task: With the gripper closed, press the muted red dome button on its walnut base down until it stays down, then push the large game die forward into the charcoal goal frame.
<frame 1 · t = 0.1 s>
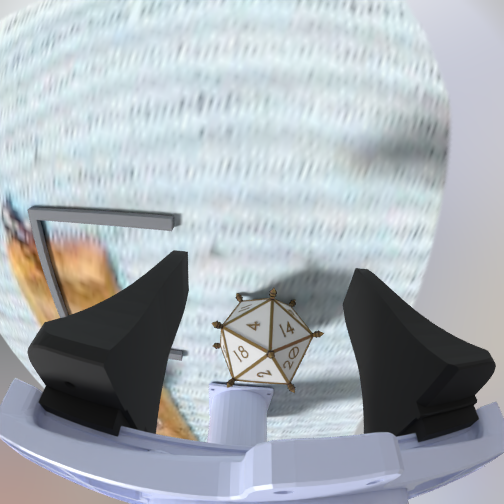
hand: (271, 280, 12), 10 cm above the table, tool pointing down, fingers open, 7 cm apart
goal frame: (110, 290, 26), on the table
game die: (263, 307, 27), on the table
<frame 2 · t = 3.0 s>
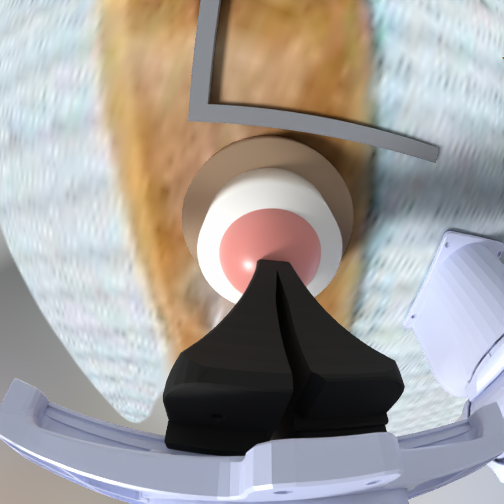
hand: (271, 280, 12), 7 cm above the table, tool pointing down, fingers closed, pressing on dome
dome base: (267, 216, 18), on the table
goal frame: (349, 3, 11), on the table
dome: (270, 250, 14), point 4 cm above the table, slide at 1.1 cm, touching gripper
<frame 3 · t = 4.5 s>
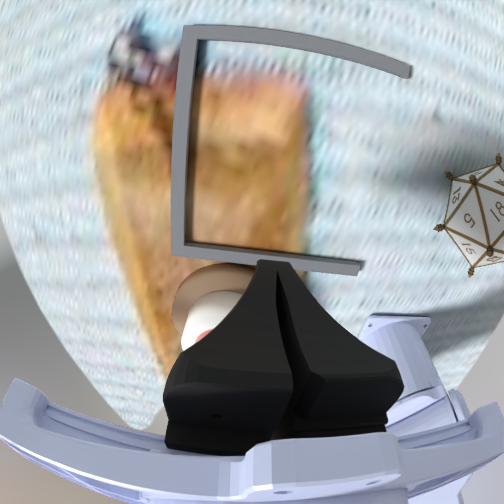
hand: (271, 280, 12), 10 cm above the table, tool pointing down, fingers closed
dome base: (230, 310, 26), on the table
goal frame: (291, 156, 19), on the table
game die: (459, 195, 20), on the table
dome: (226, 344, 22), point 4 cm above the table, slide at 1.1 cm
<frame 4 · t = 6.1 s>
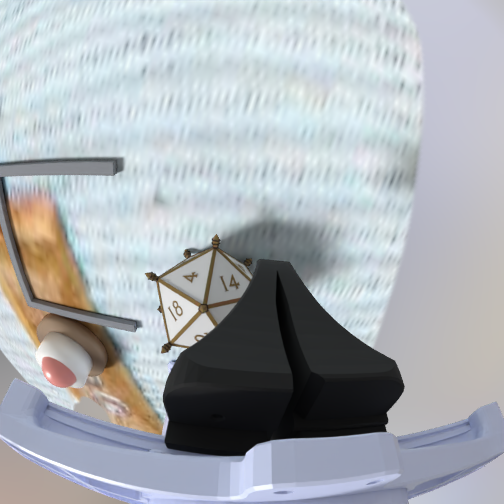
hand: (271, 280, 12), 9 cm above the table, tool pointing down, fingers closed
dome base: (73, 342, 30), on the table
goal frame: (61, 250, 23), on the table
game die: (217, 268, 24), on the table
dome: (60, 367, 26), point 4 cm above the table, slide at 1.1 cm
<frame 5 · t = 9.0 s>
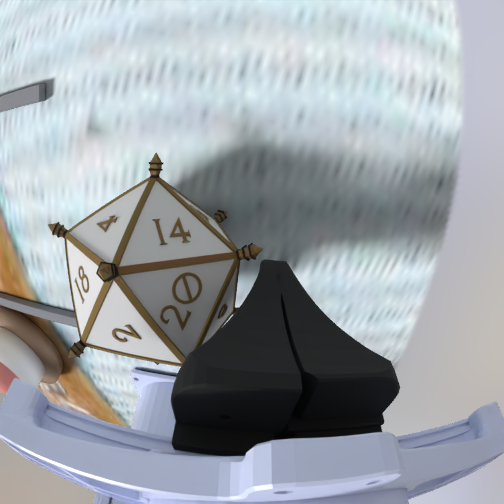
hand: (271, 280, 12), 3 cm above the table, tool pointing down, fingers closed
dome base: (25, 341, 22), on the table
game die: (176, 230, 15), on the table, touching gripper
dome: (7, 370, 18), point 4 cm above the table, slide at 1.1 cm
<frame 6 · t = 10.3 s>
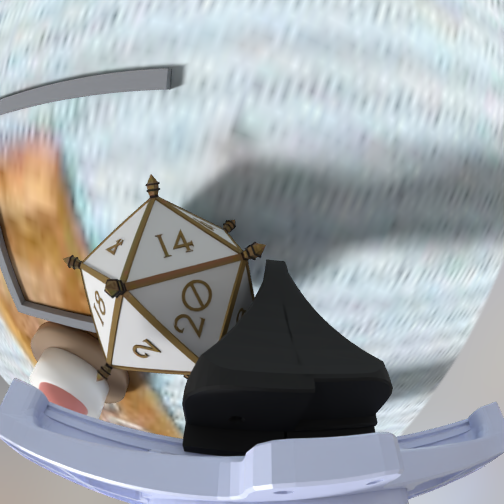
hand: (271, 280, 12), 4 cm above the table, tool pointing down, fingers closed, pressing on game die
dome base: (80, 360, 22), on the table
goal frame: (64, 224, 15), on the table
game die: (191, 248, 16), on the table, touching gripper
dome: (64, 395, 18), point 4 cm above the table, slide at 1.1 cm
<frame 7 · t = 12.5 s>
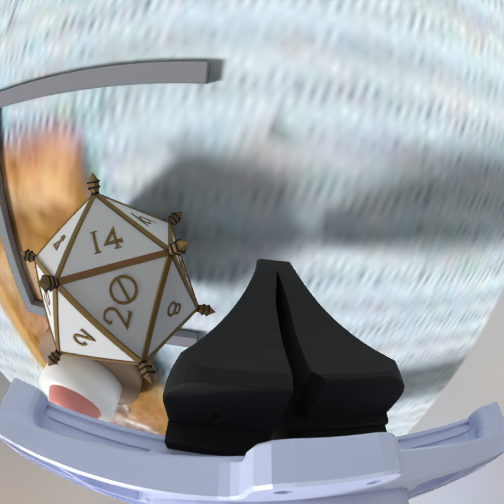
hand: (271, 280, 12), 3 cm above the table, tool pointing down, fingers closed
dome base: (92, 361, 22), on the table
goal frame: (82, 221, 15), on the table
game die: (142, 239, 15), on the table
dome: (76, 397, 18), point 4 cm above the table, slide at 1.1 cm
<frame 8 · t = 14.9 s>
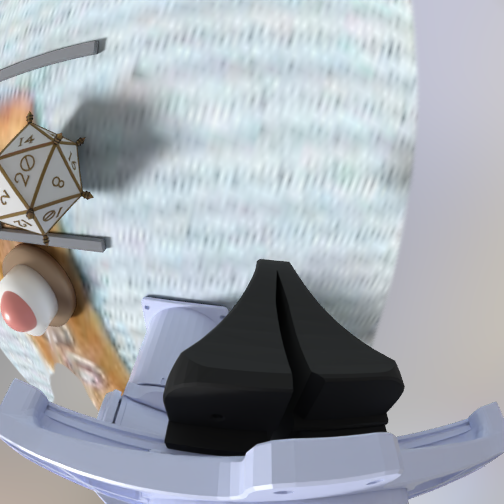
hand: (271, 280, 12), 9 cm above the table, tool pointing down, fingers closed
dome base: (40, 283, 25), on the table
goal frame: (32, 154, 18), on the table
game die: (65, 162, 19), on the table
dome: (21, 307, 22), point 4 cm above the table, slide at 1.1 cm
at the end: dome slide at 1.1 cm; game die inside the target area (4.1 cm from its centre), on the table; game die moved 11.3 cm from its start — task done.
